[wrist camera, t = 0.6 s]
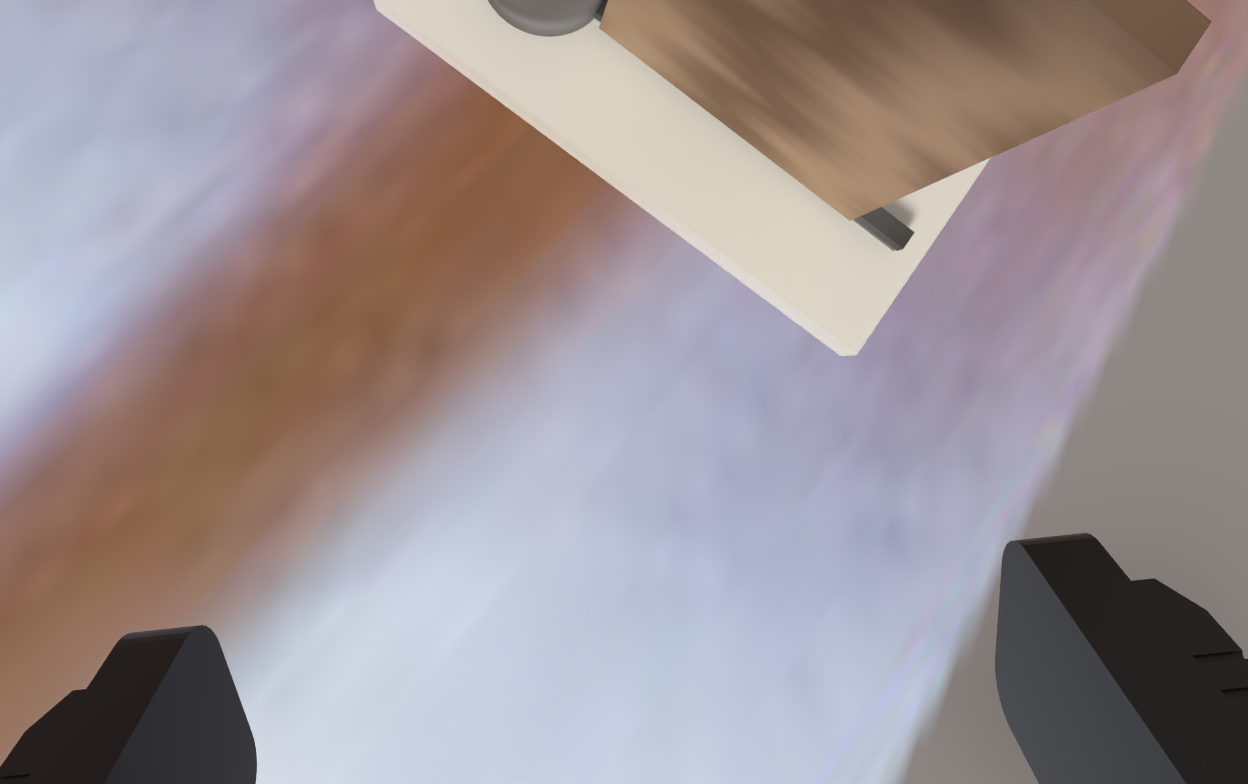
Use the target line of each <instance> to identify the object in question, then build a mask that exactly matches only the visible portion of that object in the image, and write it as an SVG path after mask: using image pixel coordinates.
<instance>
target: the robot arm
mask: <svg viewBox="0 0 1248 784" xmlns="http://www.w3.org/2000/svg"><path fill="white" fill-rule="evenodd" d="M996 641H997V642H996V655H995V672H996V681H997V688H998V693H999V697H1000V701H1001V705H1002V708H1003V711H1004V714H1005V717H1006V720H1007V722H1008V724H1009V726H1010V729H1011V730H1012V732H1013V734H1014V736H1015V738H1016V740H1017V742H1018V744H1019V746H1020V748H1021V750H1022V752H1023V754H1024V756H1025V758H1026V760H1027V761H1028V763H1029V765H1030V767H1031V769H1032V771H1033V773H1034V775H1035V777H1036V779H1037V781H1038V783H1039V784H1248V659H1244V657H1243V654H1242V650H1241V648H1240V647H1239V646H1238V645H1237V644H1236V643H1235V642H1234V641H1233V639H1232V638H1231V637H1230V636H1229V635H1228V634H1227V633H1226V632H1225V631H1224V629H1223V628H1222V627H1221V626H1220V625H1219V624H1218V623H1217V622H1216V621H1215V619H1214V618H1213V617H1212V616H1211V615H1210V614H1209V613H1208V611H1206V610H1205V609H1204V608H1202V607H1200V606H1199V605H1197V604H1195V603H1194V602H1192V601H1190V600H1189V599H1187V598H1186V597H1184V596H1182V595H1181V594H1179V593H1177V592H1176V591H1174V590H1172V589H1171V588H1169V587H1168V586H1166V585H1164V584H1163V583H1161V582H1159V581H1158V580H1156V579H1145V580H1136V581H1131V580H1130V579H1129V578H1128V577H1127V575H1126V574H1125V573H1124V572H1123V570H1122V569H1121V568H1120V567H1119V566H1118V564H1117V563H1116V562H1115V561H1114V559H1113V558H1112V557H1111V556H1110V555H1109V553H1108V552H1107V551H1106V550H1105V548H1104V547H1103V546H1102V545H1101V543H1100V542H1099V541H1098V540H1097V539H1096V538H1095V537H1093V536H1092V535H1090V534H1088V533H1081V534H1072V535H1063V536H1053V537H1044V538H1034V539H1025V540H1016V541H1010V542H1009V543H1008V544H1007V545H1006V547H1005V549H1004V553H1003V558H1002V568H1001V583H1000V598H999V612H998V626H997V640H996ZM256 773H257V757H256V747H255V742H254V738H253V735H252V732H251V729H250V726H249V723H248V721H247V718H246V715H245V712H244V710H243V707H242V704H241V701H240V698H239V696H238V693H237V690H236V687H235V685H234V682H233V679H232V676H231V674H230V671H229V668H228V665H227V663H226V660H225V657H224V654H223V651H222V649H221V646H220V643H219V641H218V639H217V637H216V635H215V634H214V632H213V631H212V630H211V629H210V628H208V627H207V626H203V625H200V626H191V627H181V628H172V629H163V630H153V631H144V632H135V633H129V634H127V635H124V636H123V637H122V638H121V639H120V640H119V641H118V642H117V644H116V645H115V646H114V648H113V649H112V651H111V652H110V654H109V655H108V657H107V658H106V660H105V662H104V663H103V665H102V666H101V668H100V669H99V671H98V672H97V674H96V675H95V677H94V678H93V680H92V681H91V683H90V684H89V686H88V687H87V689H83V690H74V691H72V692H71V693H70V694H68V695H67V696H66V697H65V698H64V699H63V700H61V701H60V702H59V703H58V704H57V705H56V706H54V707H53V708H52V709H51V710H50V711H49V712H47V713H46V714H45V715H44V716H43V717H42V718H40V719H39V720H38V721H37V722H36V723H35V724H33V725H32V726H31V727H30V728H29V729H28V730H26V731H25V732H24V734H23V735H22V737H21V738H20V740H19V741H18V742H17V744H16V745H15V747H14V748H13V750H12V751H11V753H10V754H9V755H8V757H7V758H6V760H5V761H4V763H3V764H2V765H1V767H0V784H255V783H256Z"/></svg>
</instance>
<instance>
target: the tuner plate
mask: <svg viewBox="0 0 1248 784" xmlns="http://www.w3.org/2000/svg"><path fill="white" fill-rule="evenodd" d="M374 3H375V7H376V10H377V11H379V12H380V13H381V14H383V15H384V16H385V17H387V18H388V19H390V20H391V21H392V22H394V23H395V24H396V25H398V26H399V27H400V28H402V29H403V30H404V31H406V32H407V33H408V34H410V35H411V36H412V37H414V38H415V39H416V40H418V41H419V42H420V43H422V44H423V45H424V46H426V47H427V48H428V49H430V50H431V51H432V52H434V53H435V54H436V55H438V56H439V57H440V58H442V59H443V60H444V61H446V62H447V63H448V64H450V65H451V66H452V67H454V68H455V69H457V70H458V71H459V72H461V73H462V74H463V75H465V76H466V77H467V78H469V79H470V80H471V81H473V82H474V83H475V84H477V85H478V86H479V87H481V88H482V89H483V90H485V91H486V92H487V93H489V94H490V95H491V96H493V97H494V98H495V99H497V100H498V101H499V102H501V103H502V104H503V105H505V106H506V107H507V108H509V109H510V110H511V111H513V112H514V113H515V114H517V115H518V116H520V117H521V118H522V119H524V120H525V121H526V122H528V123H529V124H530V125H532V126H533V127H534V128H536V129H537V130H538V131H540V132H541V133H542V134H544V135H545V136H546V137H548V138H549V139H550V140H552V141H553V142H554V143H556V144H557V145H558V146H560V147H561V148H562V149H564V150H565V151H566V152H568V153H569V154H570V155H572V156H573V157H574V158H576V159H577V160H578V161H580V162H581V163H582V164H584V165H585V166H587V167H588V168H589V169H591V170H592V171H593V172H595V173H596V174H597V175H599V176H600V177H601V178H603V179H604V180H605V181H607V182H608V183H609V184H611V185H612V186H613V187H615V188H616V189H617V190H619V191H620V192H621V193H623V194H624V195H625V196H627V197H628V198H629V199H631V200H632V201H633V202H635V203H636V204H637V205H639V206H640V207H641V208H643V209H644V210H645V211H647V212H648V213H650V214H651V215H652V216H654V217H655V218H656V219H658V220H659V221H660V222H662V223H663V224H664V225H666V226H667V227H668V228H670V229H671V230H672V231H674V232H675V233H676V234H678V235H679V236H680V237H682V238H683V239H684V240H686V241H687V242H688V243H690V244H691V245H692V246H694V247H695V248H696V249H698V250H699V251H700V252H702V253H703V254H704V255H706V256H707V257H708V258H710V259H711V260H712V261H714V262H715V263H717V264H718V265H719V266H721V267H722V268H723V269H725V270H726V271H727V272H729V273H730V274H731V275H733V276H734V277H735V278H737V279H738V280H739V281H741V282H742V283H743V284H745V285H746V286H747V287H749V288H750V289H751V290H753V291H754V292H755V293H757V294H758V295H759V296H761V297H762V298H763V299H765V300H766V301H767V302H769V303H770V304H771V305H773V306H774V307H775V308H777V309H778V310H779V311H781V312H782V313H784V314H785V315H786V316H788V317H789V318H790V319H792V320H793V321H794V322H796V323H797V324H798V325H800V326H801V327H802V328H804V329H805V330H806V331H808V332H809V333H810V334H812V335H813V336H814V337H816V338H817V339H818V340H820V341H821V342H822V343H824V344H825V345H826V346H828V347H829V348H830V349H832V350H833V351H834V352H836V353H837V354H838V355H840V356H850V355H857V354H858V352H859V351H860V349H861V348H862V346H863V345H864V343H865V342H866V340H867V339H868V337H869V336H870V335H871V333H872V332H873V330H874V329H875V327H876V326H877V324H878V323H879V321H880V320H881V318H882V317H883V315H884V314H885V312H886V311H887V309H888V308H889V307H890V305H891V304H892V302H893V301H894V299H895V298H896V296H897V295H898V293H899V292H900V290H901V289H902V287H903V286H904V284H905V283H906V282H907V280H908V279H909V277H910V276H911V274H912V273H913V271H914V270H915V268H916V267H917V265H918V264H919V262H920V261H921V259H922V258H923V257H924V255H925V254H926V252H927V251H928V249H929V248H930V246H931V245H932V243H933V242H934V240H935V239H936V237H937V236H938V234H939V233H940V231H941V230H942V229H943V227H944V226H945V224H946V223H947V221H948V220H949V218H950V217H951V215H952V214H953V212H954V211H955V209H956V208H957V206H958V205H959V204H960V202H961V201H962V199H963V198H964V196H965V195H966V193H967V192H968V190H969V189H970V187H971V186H972V184H973V183H974V181H975V180H976V179H977V177H978V176H979V174H980V173H981V171H982V170H983V168H984V167H985V165H986V164H987V162H988V161H989V159H990V158H989V159H987V160H984V161H982V162H980V163H978V164H975V165H973V166H971V167H969V168H967V169H964V170H962V171H960V172H958V173H955V174H953V175H951V176H949V177H947V178H944V179H942V180H940V181H938V182H935V183H933V184H931V185H929V186H927V187H924V188H922V189H920V190H918V191H915V192H913V193H911V194H909V195H907V196H904V197H902V198H900V199H898V200H896V201H893V202H891V203H889V204H887V205H884V206H882V207H883V208H884V209H885V210H886V211H888V212H889V213H890V214H892V215H893V216H894V217H895V218H897V219H898V220H899V221H901V222H902V223H903V224H904V225H906V226H907V227H908V228H910V229H911V230H912V231H914V232H915V233H914V234H913V236H912V237H911V239H910V240H909V242H908V243H907V244H906V246H905V247H904V249H902V250H899V251H896V250H895V249H894V248H893V247H891V246H890V245H889V244H887V243H886V242H885V241H883V240H882V239H881V238H880V237H878V236H877V235H876V234H874V233H873V232H872V231H870V230H869V229H868V228H867V227H865V226H864V225H863V224H861V223H860V222H859V221H857V220H856V219H853V220H851V221H849V220H848V219H847V218H845V217H844V216H843V215H841V214H840V213H839V212H838V211H836V210H835V209H834V208H832V207H831V206H830V205H828V204H827V203H826V202H824V201H823V200H822V199H821V198H819V197H818V196H817V195H815V194H814V193H813V192H811V191H810V190H809V189H808V188H806V187H805V186H804V185H802V184H801V183H800V182H798V181H797V180H796V179H795V178H793V177H792V176H791V175H789V174H788V173H787V172H785V171H784V170H783V169H782V168H780V167H779V166H778V165H776V164H775V163H774V162H772V161H771V160H770V159H769V158H767V157H766V156H765V155H763V154H762V153H761V152H759V151H758V150H757V149H756V148H754V147H753V146H752V145H750V144H749V143H748V142H746V141H745V140H744V139H743V138H741V137H740V136H739V135H737V134H736V133H735V132H733V131H732V130H731V129H730V128H728V127H727V126H726V125H724V124H723V123H722V122H720V121H719V120H718V119H717V118H715V117H714V116H713V115H711V114H710V113H709V112H707V111H706V110H705V109H703V108H702V107H701V106H700V105H698V104H697V103H696V102H694V101H693V100H692V99H690V98H689V97H688V96H687V95H685V94H684V93H683V92H681V91H680V90H679V89H677V88H676V87H675V86H674V85H672V84H671V83H670V82H668V81H667V80H666V79H664V78H663V77H662V76H661V75H659V74H658V73H657V72H655V71H654V70H653V69H651V68H650V67H649V66H648V65H646V64H645V63H644V62H642V61H641V60H640V59H638V58H637V57H636V56H635V55H633V54H632V53H631V52H629V51H628V50H627V49H625V48H624V47H623V46H622V45H620V44H619V43H618V42H616V41H615V40H614V39H612V38H611V37H610V36H609V35H607V34H606V33H605V32H603V31H602V30H601V29H599V26H600V22H599V21H598V20H596V19H595V18H594V19H593V20H592V21H591V22H590V23H589V24H587V25H586V26H584V27H583V28H581V29H579V30H577V31H575V32H573V33H570V34H567V35H562V36H553V37H546V36H537V35H533V34H529V33H526V32H523V31H521V30H519V29H517V28H515V27H513V26H512V25H510V24H509V23H507V22H506V21H505V20H504V19H503V18H502V17H500V16H499V15H498V13H497V12H496V11H495V10H494V9H493V8H492V6H491V5H490V3H489V2H488V0H374Z"/></svg>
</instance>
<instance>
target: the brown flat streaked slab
mask: <svg viewBox="0 0 1248 784" xmlns="http://www.w3.org/2000/svg"><path fill="white" fill-rule="evenodd" d="M488 2H489V3H490V5H491V6H492V8H493V9H494V10H495V11H496V12H497V13H498V15H499V16H500V17H502V18H503V19H504V20H505V21H506V22H507V23H509V24H510V25H512V26H513V27H515V28H517V29H519V30H521V31H523V32H526V33H529V34H533V35H537V36H546V37H553V36H562V35H567V34H570V33H573V32H575V31H577V30H579V29H581V28H583V27H584V26H586V25H587V24H589V23H590V22H591V21H592V20H593V19H594V18H595V19H596V20H598V21H599V22H600V26H599V29H601V30H602V31H603V32H605V33H606V34H607V35H609V36H610V37H611V38H612V39H614V40H615V41H616V42H618V43H619V44H620V45H622V46H623V47H624V48H625V49H627V50H628V51H629V52H631V53H632V54H633V55H635V56H636V57H637V58H638V59H640V60H641V61H642V62H644V63H645V64H646V65H648V66H649V67H650V68H651V69H653V70H654V71H655V72H657V73H658V74H659V75H661V76H662V77H663V78H664V79H666V80H667V81H668V82H670V83H671V84H672V85H674V86H675V87H676V88H677V89H679V90H680V91H681V92H683V93H684V94H685V95H687V96H688V97H689V98H690V99H692V100H693V101H694V102H696V103H697V104H698V105H700V106H701V107H702V108H703V109H705V110H706V111H707V112H709V113H710V114H711V115H713V116H714V117H715V118H717V119H718V120H719V121H720V122H722V123H723V124H724V125H726V126H727V127H728V128H730V129H731V130H732V131H733V132H735V133H736V134H737V135H739V136H740V137H741V138H743V139H744V140H745V141H746V142H748V143H749V144H750V145H752V146H753V147H754V148H756V149H757V150H758V151H759V152H761V153H762V154H763V155H765V156H766V157H767V158H769V159H770V160H771V161H772V162H774V163H775V164H776V165H778V166H779V167H780V168H782V169H783V170H784V171H785V172H787V173H788V174H789V175H791V176H792V177H793V178H795V179H796V180H797V181H798V182H800V183H801V184H802V185H804V186H805V187H806V188H808V189H809V190H810V191H811V192H813V193H814V194H815V195H817V196H818V197H819V198H821V199H822V200H823V201H824V202H826V203H827V204H828V205H830V206H831V207H832V208H834V209H835V210H836V211H838V212H839V213H840V214H841V215H843V216H844V217H845V218H847V219H848V220H849V221H851V220H853V219H856V220H857V221H859V222H860V223H861V224H863V225H864V226H865V227H867V228H868V229H869V230H870V231H872V232H873V233H874V234H876V235H877V236H878V237H880V238H881V239H882V240H883V241H885V242H886V243H887V244H889V245H890V246H891V247H893V248H894V249H895V250H896V251H899V250H902V249H904V247H905V246H906V244H907V243H908V242H909V240H910V239H911V237H912V236H913V234H914V233H915V232H914V231H912V230H911V229H910V228H908V227H907V226H906V225H904V224H903V223H902V222H901V221H899V220H898V219H897V218H895V217H894V216H893V215H892V214H890V213H889V212H888V211H886V210H885V209H884V208H883V207H882V206H884V205H887V204H889V203H891V202H893V201H896V200H898V199H900V198H902V197H904V196H907V195H909V194H911V193H913V192H915V191H918V190H920V189H922V188H924V187H927V186H929V185H931V184H933V183H935V182H938V181H940V180H942V179H944V178H947V177H949V176H951V175H953V174H955V173H958V172H960V171H962V170H964V169H967V168H969V167H971V166H973V165H975V164H978V163H980V162H982V161H984V160H987V159H989V158H991V157H993V156H995V155H998V154H1000V153H1002V152H1004V151H1006V150H1009V149H1011V148H1013V147H1015V146H1018V145H1020V144H1022V143H1024V142H1026V141H1029V140H1031V139H1033V138H1035V137H1038V136H1040V135H1042V134H1044V133H1046V132H1049V131H1051V130H1053V129H1055V128H1058V127H1060V126H1062V125H1064V124H1066V123H1069V122H1071V121H1073V120H1075V119H1078V118H1080V117H1082V116H1084V115H1086V114H1089V113H1091V112H1093V111H1095V110H1097V109H1100V108H1102V107H1104V106H1106V105H1109V104H1111V103H1113V102H1115V101H1117V100H1120V99H1122V98H1124V97H1126V96H1129V95H1131V94H1133V93H1135V92H1137V91H1140V90H1142V89H1144V88H1146V87H1149V86H1151V85H1153V84H1155V83H1157V82H1160V81H1162V80H1164V79H1166V78H1168V77H1171V76H1173V75H1175V74H1177V73H1178V71H1179V70H1180V68H1181V67H1182V65H1183V64H1184V62H1185V61H1186V59H1187V58H1188V56H1189V55H1190V53H1191V52H1192V50H1193V49H1194V47H1195V46H1196V44H1197V43H1198V41H1199V40H1200V38H1201V37H1202V35H1203V34H1204V32H1205V31H1206V29H1207V28H1208V26H1209V25H1210V23H1211V21H1210V20H1209V19H1208V18H1207V17H1206V16H1204V15H1203V14H1202V13H1201V12H1200V11H1198V10H1197V9H1196V8H1195V7H1194V6H1193V5H1191V4H1190V3H1189V2H1188V1H1187V0H488Z"/></svg>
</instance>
